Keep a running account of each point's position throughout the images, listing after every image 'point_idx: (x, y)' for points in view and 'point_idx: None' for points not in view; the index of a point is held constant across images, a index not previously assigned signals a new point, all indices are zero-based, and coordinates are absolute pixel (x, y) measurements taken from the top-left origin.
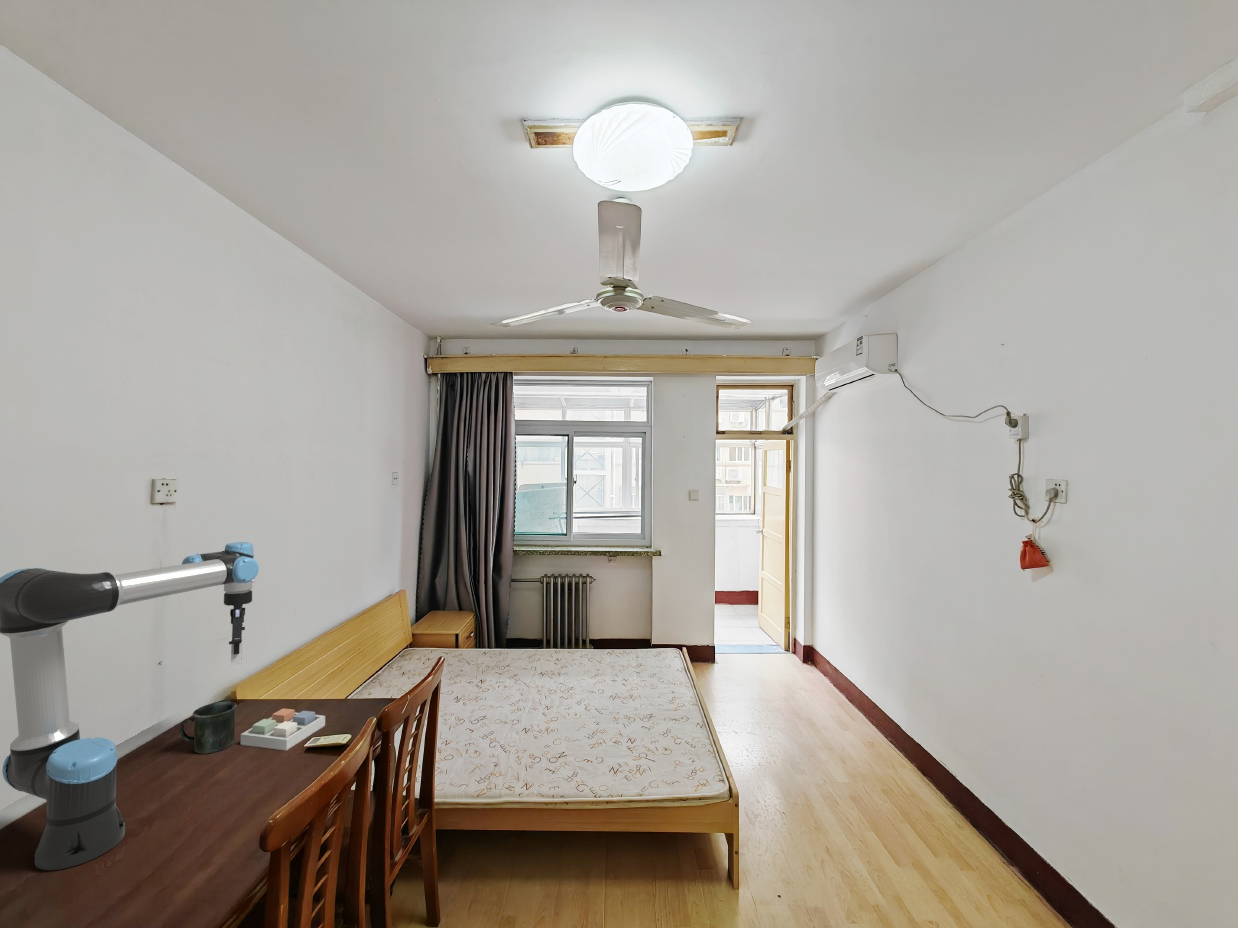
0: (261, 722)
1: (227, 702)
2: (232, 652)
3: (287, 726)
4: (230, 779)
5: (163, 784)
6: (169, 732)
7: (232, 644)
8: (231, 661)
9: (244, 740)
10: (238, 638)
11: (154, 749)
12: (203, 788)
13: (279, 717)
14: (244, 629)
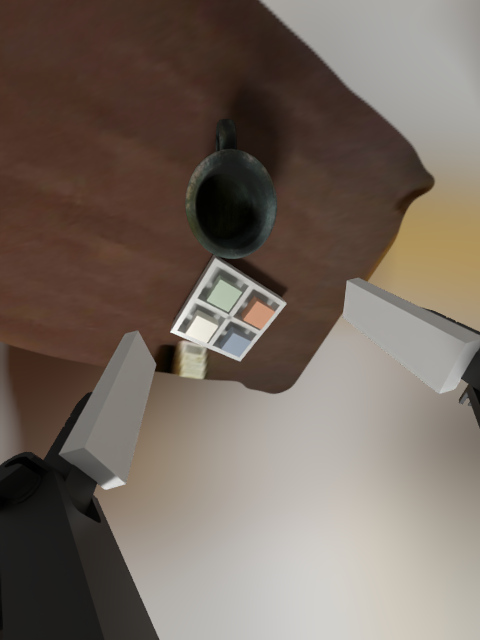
0: (226, 291)
1: (266, 231)
2: (102, 389)
3: (195, 333)
4: (87, 268)
5: (75, 145)
6: (333, 77)
7: (70, 448)
8: (119, 346)
9: (210, 262)
10: (399, 342)
11: (252, 62)
12: (57, 232)
13: (247, 310)
14: (461, 401)
